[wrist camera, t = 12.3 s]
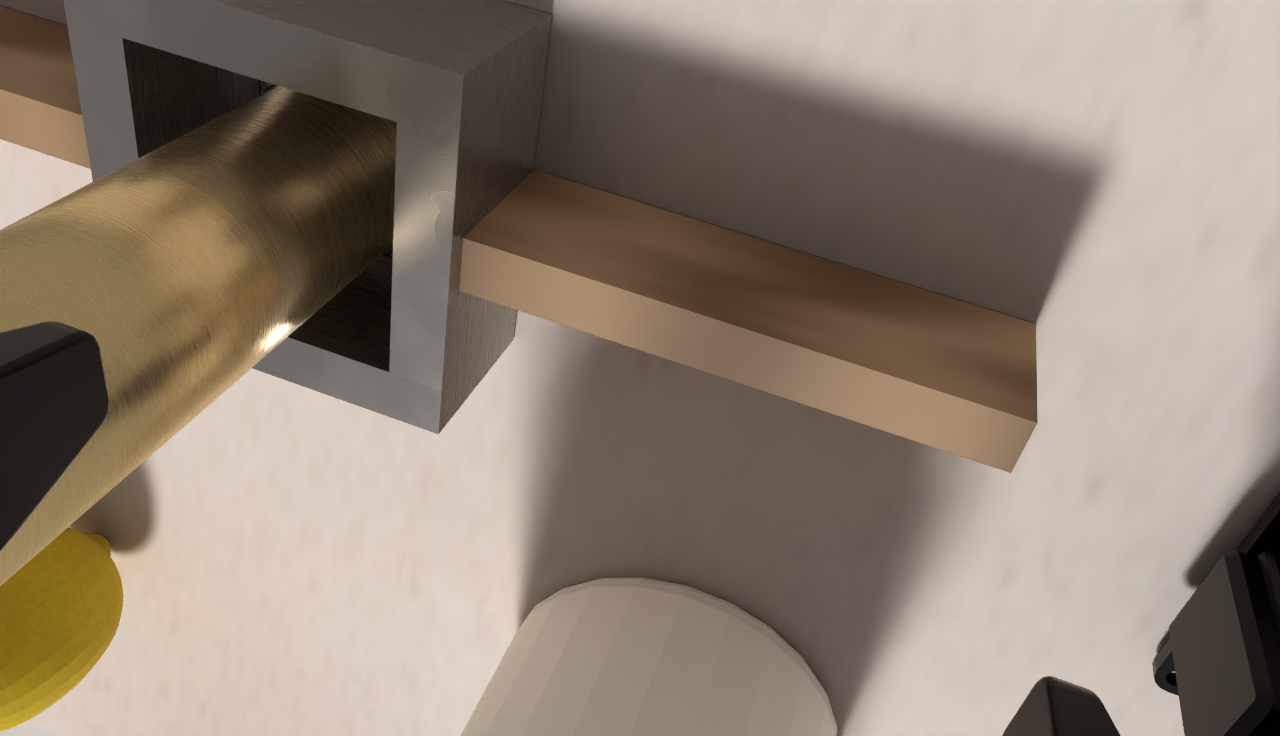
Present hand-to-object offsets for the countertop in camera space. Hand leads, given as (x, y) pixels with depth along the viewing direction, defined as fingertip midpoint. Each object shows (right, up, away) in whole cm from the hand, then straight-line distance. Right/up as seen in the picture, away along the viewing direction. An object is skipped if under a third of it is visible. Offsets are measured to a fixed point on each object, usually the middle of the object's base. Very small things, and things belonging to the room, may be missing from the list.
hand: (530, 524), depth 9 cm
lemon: (-18, -4, +26) cm, 32 cm away
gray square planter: (-5, +7, +14) cm, 16 cm away
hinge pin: (-5, +6, +14) cm, 16 cm away
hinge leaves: (-5, +7, +14) cm, 16 cm away
